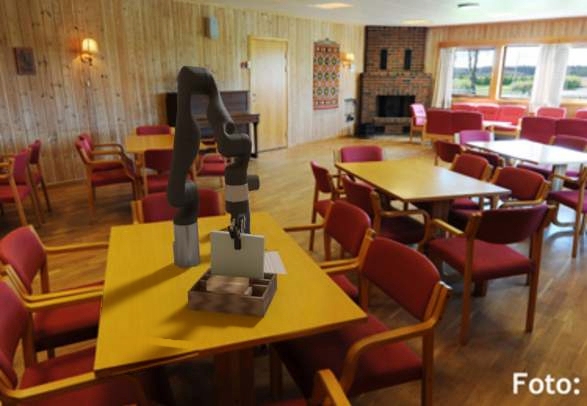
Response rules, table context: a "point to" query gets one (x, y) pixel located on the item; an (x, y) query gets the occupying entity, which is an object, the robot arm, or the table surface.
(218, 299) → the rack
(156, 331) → the table surface
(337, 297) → the table surface
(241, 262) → the tall sheet
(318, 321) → the table surface
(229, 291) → the offcut top
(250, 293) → the offcut middle
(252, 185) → the rubber mallet
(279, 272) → the baseboard molding
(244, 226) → the robot arm
